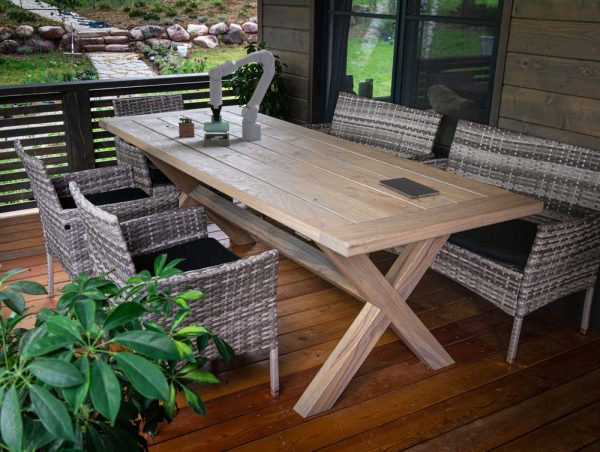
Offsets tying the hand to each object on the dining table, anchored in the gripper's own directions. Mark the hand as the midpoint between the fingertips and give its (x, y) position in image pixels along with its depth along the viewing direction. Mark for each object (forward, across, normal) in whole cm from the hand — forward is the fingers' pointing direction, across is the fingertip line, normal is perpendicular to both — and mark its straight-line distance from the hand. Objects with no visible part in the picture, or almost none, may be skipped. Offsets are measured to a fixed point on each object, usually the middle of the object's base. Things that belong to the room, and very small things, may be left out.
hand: (216, 120), depth 312 cm
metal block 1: (+9, +9, -1) cm, 13 cm away
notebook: (+11, +84, +73) cm, 112 cm away
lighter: (+10, -8, -15) cm, 20 cm away
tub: (+10, +6, 0) cm, 12 cm away
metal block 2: (+9, +4, +1) cm, 10 cm away
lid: (+2, +6, 0) cm, 7 cm away
